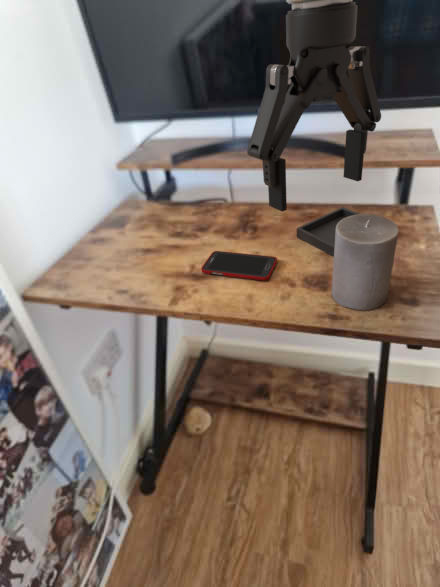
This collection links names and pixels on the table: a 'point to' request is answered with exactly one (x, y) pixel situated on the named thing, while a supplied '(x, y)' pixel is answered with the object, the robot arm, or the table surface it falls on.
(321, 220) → the candle pad
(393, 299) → the table surface
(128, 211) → the table surface
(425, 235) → the table surface
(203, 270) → the cell phone
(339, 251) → the pillar candle
